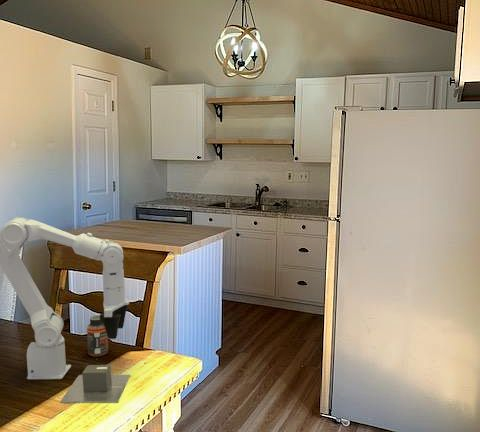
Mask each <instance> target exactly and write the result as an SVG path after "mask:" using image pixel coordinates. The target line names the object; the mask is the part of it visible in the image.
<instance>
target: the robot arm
mask: <svg viewBox="0 0 480 432" xmlns="http://www.w3.org/2000/svg"><path fill="white" fill-rule="evenodd" d="M41 239H42V240H46V241H49V242H54V243H56V244H60V245H63V246H66V247H71V249H73V252H74V253H75V254H76V255H80V256H83V257H85V258H89V259H92V260H95V261H101V263H102V290H103V302H102V305H103V312H101V313H100V314H99V316H100V320H101V321H102V323H103V324H104V327H105V329H106V333H107V336H108V340H115V339H116V340H117V338H118V330H119V329H124V325H125V318H126V313H127V310H128V308H129V305H130V300H126V293H125V273H124V272H125V271H124V257H125V256H124V250H123V247H122V246H121V245H120V243H117V242H116V241H110V240H109V239H105V240H104V239H101V238H98V237H95V236H93V234H92V233H91V232H87V234H86V233H81V234H77V235H75V234H72V233H70V232H68V231H64V230H61V229H59V228H57V227H55V226H51V225H49V224H46V223H44V222H40V221H38V220H35V219H31V218H30V219H28V218H26V217H24V216H23V217H22V216H16V217H14V218H12V219H11V220H10V221H8V222H5V223H4V224H3V226H1V228H0V268H1V269H2V271H3V273H4V275H5V276H6V278H7V280H8V282H9V283H10V284H11V286H12V288H13V290H14V292H15V293H16V295H17V297H18V298H19V301H20V302H21V304H22V306H23V307H24V309H25V310H26V313H28V316H29V318H30V323H31V328H32V329H33V331H34V339H35V340H34V341H35V342H33V341H32V342H30V344H29V345H28V347H27V351H26V364H27V377H26V379H27V380H62V379H63V378H64V377H65V375H66V374H67V373H68V372H69V370H70V369H71V367H72V365H71V364H67V362H66V345H65V338H64V336H63V335H62V330H63V329H64V323H65V322H64V319H63V318H62V316H60V315H58V313H56V312H55V311H54V310H53V309H54V308H52V307H51V306H49V305H48V304H47V302H46V301H45V299H44V297H43V295H42V293H41V291H40V290H39V289H38V287H37V284H36V282H35V281H34V279H33V278H32V275H31V274H30V272H29V271H28V269H27V267H26V265H25V264H24V262H23V260H22V259H21V257H20V254H21V252H22V249H23V246H24V244H25V242H26V241H28V242H33V241H37V240H41Z"/></svg>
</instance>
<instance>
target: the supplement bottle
mask: <svg viewBox="0 0 480 432" xmlns="http://www.w3.org/2000/svg"><path fill="white" fill-rule="evenodd" d="M86 335H87V353H88V355H89V356H90V357H95V358H97V357H98V358H99V357H103V356H105V355H106V354H108V352H109V339H108V336H107V333H106V329H105V327H104V324H103V323H102V321H101V320H100V315H92V316H91V317H90V318H89V324H88V325H87V326H86Z"/></svg>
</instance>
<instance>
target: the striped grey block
mask: <svg viewBox="0 0 480 432" xmlns="http://www.w3.org/2000/svg"><path fill="white" fill-rule="evenodd" d="M81 375H82V377H83V390H84V392H88V391H107V390H108V389H109V387H110V385H111V383H112V380H111V375H112V365H111V364H91V365H90V364H89V365H86V367H85V368H84V370H83V371H82V373H81Z"/></svg>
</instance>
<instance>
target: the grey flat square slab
mask: <svg viewBox="0 0 480 432" xmlns="http://www.w3.org/2000/svg"><path fill="white" fill-rule="evenodd" d="M130 377H131V374H111V380H112V383H111V385H110V387H109V389H108V390H107V391H88V392H84V390H83V377H82V374H78V376H77V377H76V378H75V379H74V381H73V383H72V384H71V386H70V387H69V389H68V390H67V391H66V392H65V394H64V395H63V397H61V400H60V401H59V403H60V404H77V403H78V404H88V403H89V404H91V403H94V404H98V403H100V404H101V403H103V404H104V403H106V404H107V403H116V404H117V403H119V401H120V398H121V397H122V394H123V392H124V390H125V388H126V387H127V384H128V382H129V380H130ZM80 402H81V403H80ZM85 402H86V403H85Z"/></svg>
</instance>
